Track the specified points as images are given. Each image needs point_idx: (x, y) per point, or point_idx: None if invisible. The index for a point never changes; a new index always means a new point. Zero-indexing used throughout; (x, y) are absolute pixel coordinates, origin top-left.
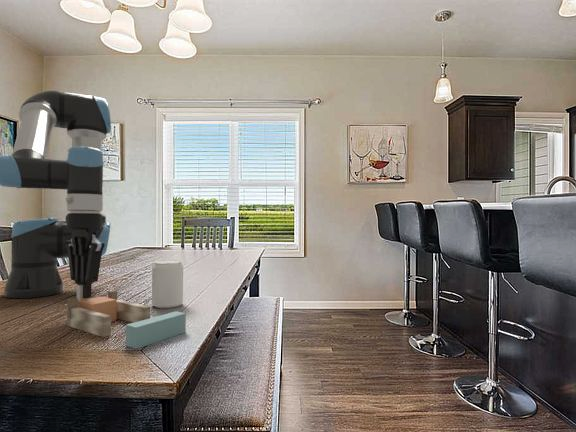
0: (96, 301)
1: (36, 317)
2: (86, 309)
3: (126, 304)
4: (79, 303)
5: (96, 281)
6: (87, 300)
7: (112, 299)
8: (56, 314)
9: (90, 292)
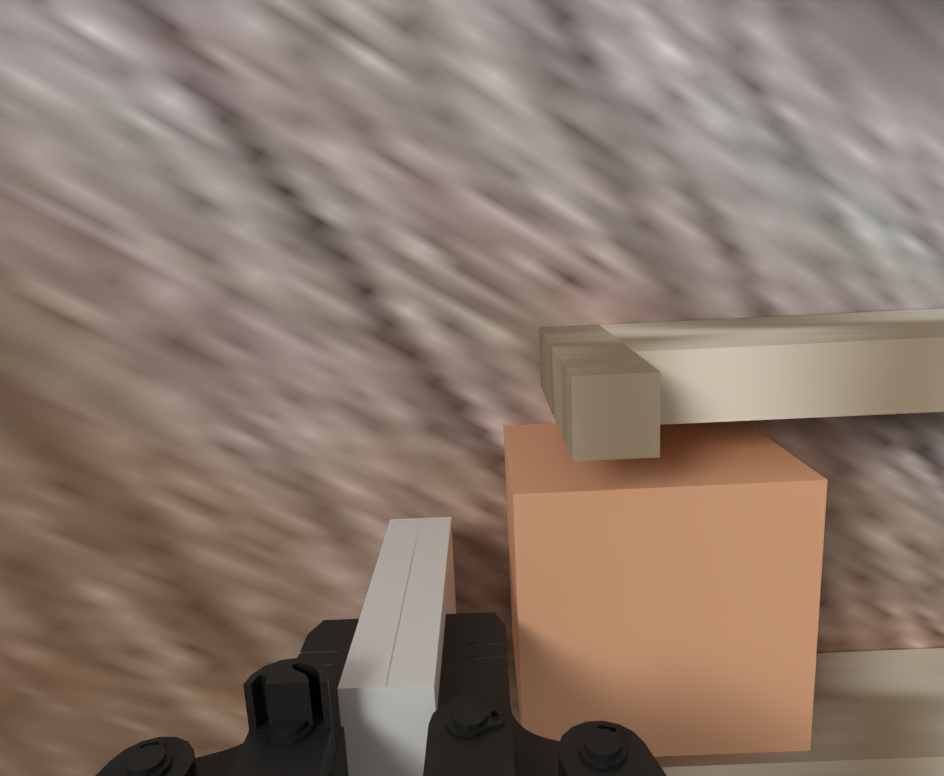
0: (719, 656)
1: (118, 747)
2: (790, 764)
3: (923, 408)
4: None
5: (609, 726)
6: (589, 687)
7: (778, 502)
8: (132, 622)
9: (506, 658)
